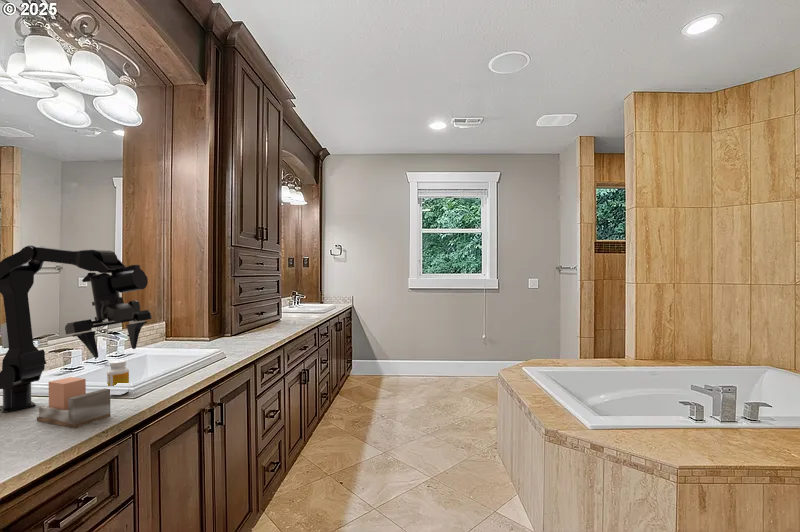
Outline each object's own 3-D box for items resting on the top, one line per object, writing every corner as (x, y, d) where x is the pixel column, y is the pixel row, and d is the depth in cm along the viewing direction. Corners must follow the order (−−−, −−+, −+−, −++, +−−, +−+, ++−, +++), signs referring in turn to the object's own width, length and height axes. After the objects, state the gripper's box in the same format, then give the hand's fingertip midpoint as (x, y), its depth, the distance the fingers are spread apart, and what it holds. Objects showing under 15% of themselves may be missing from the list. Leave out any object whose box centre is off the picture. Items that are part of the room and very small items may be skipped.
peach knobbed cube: (47, 411, 104) (47, 381, 104) (69, 405, 109) (69, 376, 109) (63, 414, 101) (63, 384, 101) (85, 408, 106) (85, 378, 106)
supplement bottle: (133, 391, 127) (133, 359, 127) (119, 396, 121) (119, 363, 121) (117, 391, 127) (116, 359, 127) (102, 396, 122) (102, 363, 122)
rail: (36, 420, 103) (36, 393, 103) (74, 409, 111) (73, 384, 111) (74, 428, 97) (73, 399, 97) (110, 416, 105) (110, 389, 105)
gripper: (79, 297, 99) (90, 361, 99) (157, 287, 115) (167, 343, 115) (59, 302, 105) (69, 363, 105) (136, 292, 121) (145, 345, 121)
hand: (116, 353), depth 111 cm, fingers open, 9 cm apart
